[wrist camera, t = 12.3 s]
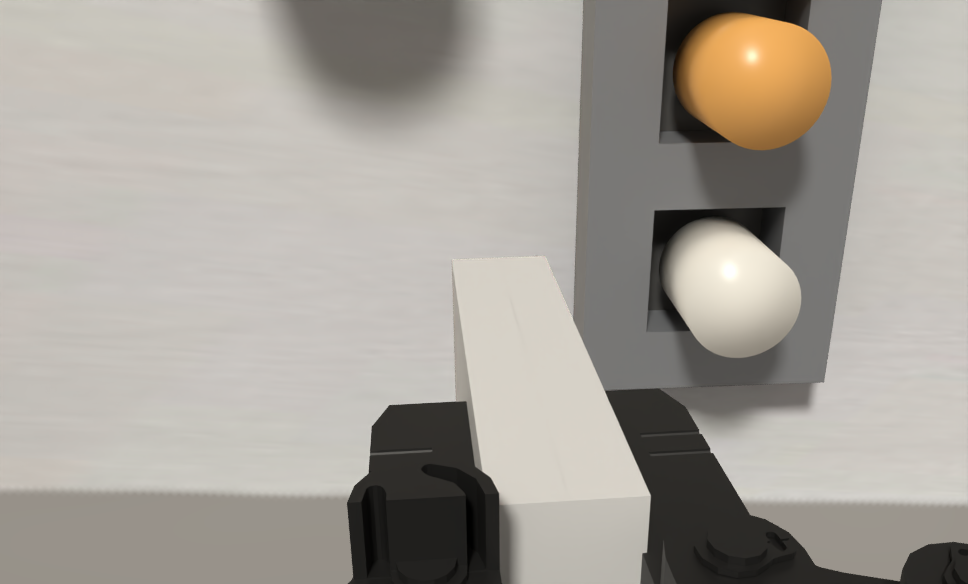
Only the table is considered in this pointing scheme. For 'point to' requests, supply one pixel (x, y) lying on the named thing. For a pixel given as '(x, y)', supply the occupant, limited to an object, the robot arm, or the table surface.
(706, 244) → the key ivory
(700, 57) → the key orange
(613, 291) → the panel
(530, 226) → the table surface
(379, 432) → the robot arm
